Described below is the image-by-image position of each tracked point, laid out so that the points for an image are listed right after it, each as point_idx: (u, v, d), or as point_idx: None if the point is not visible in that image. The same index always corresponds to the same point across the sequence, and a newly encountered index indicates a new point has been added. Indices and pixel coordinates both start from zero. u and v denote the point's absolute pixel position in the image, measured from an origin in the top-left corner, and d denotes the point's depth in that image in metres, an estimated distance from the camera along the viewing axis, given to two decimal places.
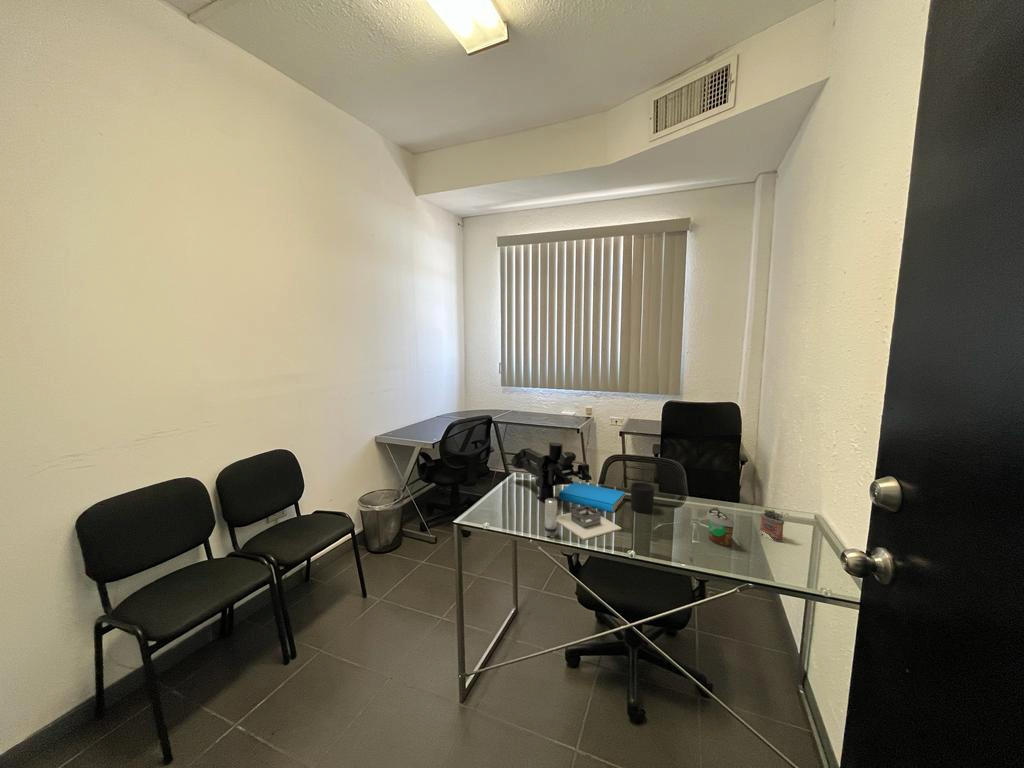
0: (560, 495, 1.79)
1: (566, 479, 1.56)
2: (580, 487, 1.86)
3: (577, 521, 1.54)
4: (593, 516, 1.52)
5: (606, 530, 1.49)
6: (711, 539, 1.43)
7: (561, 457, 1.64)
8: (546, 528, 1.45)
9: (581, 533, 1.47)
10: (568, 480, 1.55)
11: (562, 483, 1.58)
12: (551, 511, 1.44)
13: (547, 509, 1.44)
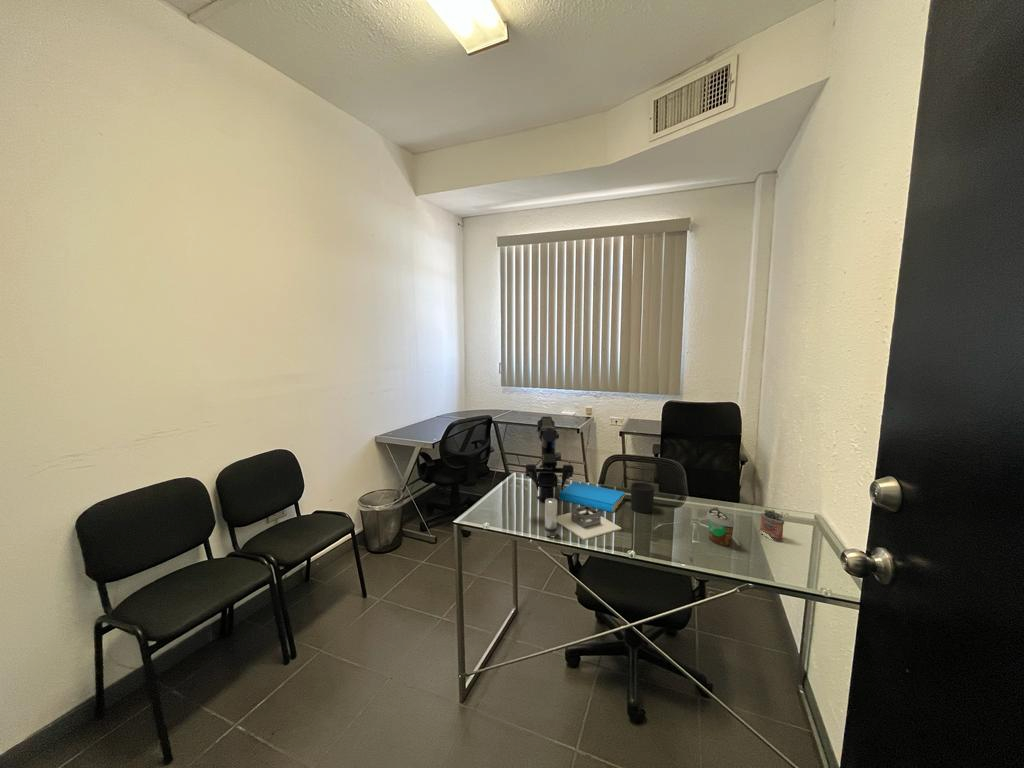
0: (560, 495, 1.79)
1: (535, 483, 1.55)
2: (580, 487, 1.85)
3: (577, 521, 1.54)
4: (593, 516, 1.52)
5: (606, 530, 1.49)
6: (711, 539, 1.43)
7: (543, 457, 1.55)
8: (546, 528, 1.45)
9: (581, 533, 1.47)
10: (536, 486, 1.54)
11: (533, 481, 1.58)
12: (551, 511, 1.44)
13: (547, 509, 1.44)
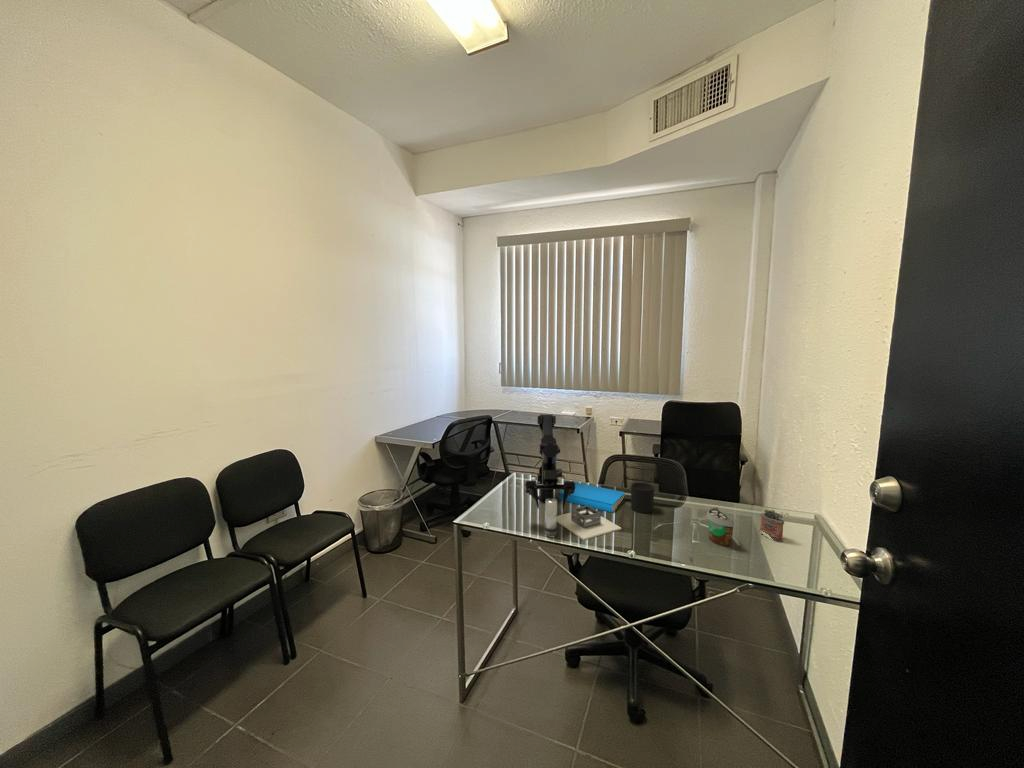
0: (560, 495, 1.79)
1: (535, 501, 1.49)
2: (580, 487, 1.85)
3: (577, 521, 1.54)
4: (593, 516, 1.52)
5: (606, 530, 1.49)
6: (711, 539, 1.43)
7: (544, 473, 1.50)
8: (546, 528, 1.45)
9: (581, 533, 1.47)
10: (536, 503, 1.49)
11: (533, 498, 1.52)
12: (551, 511, 1.44)
13: (547, 509, 1.44)
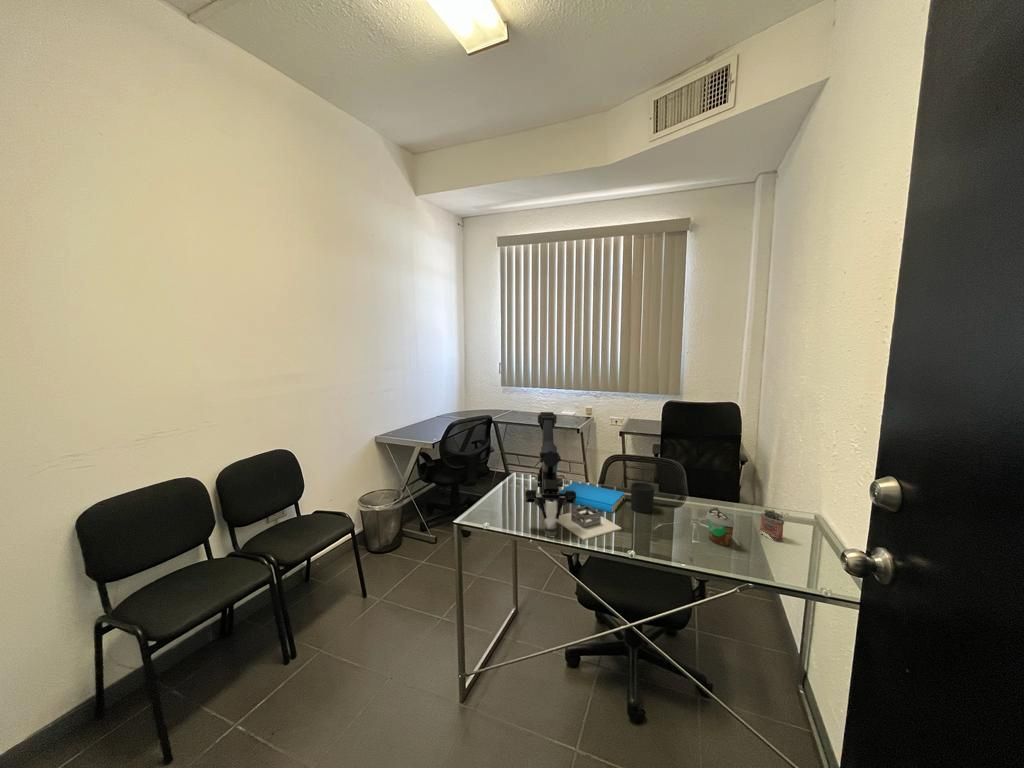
0: None
1: (541, 511, 1.46)
2: (579, 487, 1.85)
3: (577, 521, 1.54)
4: (593, 516, 1.52)
5: (606, 530, 1.49)
6: (711, 539, 1.43)
7: (544, 483, 1.47)
8: (546, 528, 1.45)
9: (581, 533, 1.47)
10: (542, 513, 1.46)
11: (540, 508, 1.49)
12: (551, 511, 1.44)
13: (547, 509, 1.44)
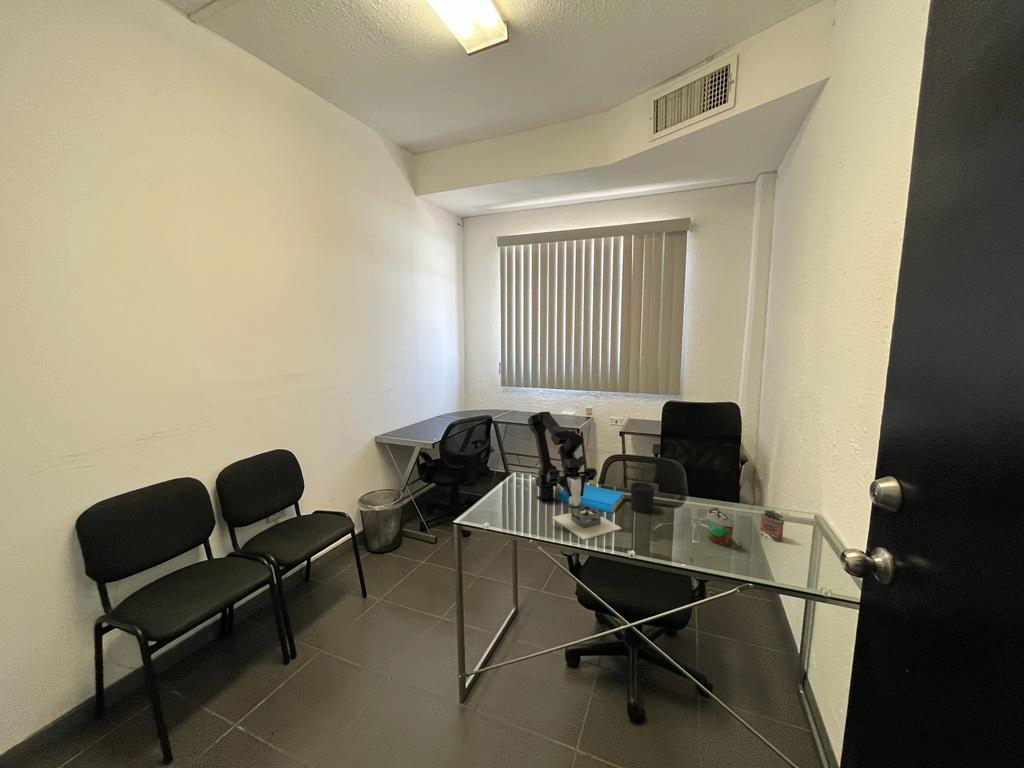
0: (559, 496, 1.79)
1: (566, 489, 1.50)
2: None
3: (577, 521, 1.54)
4: (593, 516, 1.52)
5: (606, 530, 1.49)
6: (711, 539, 1.43)
7: (568, 461, 1.50)
8: (571, 505, 1.49)
9: (581, 533, 1.47)
10: (567, 492, 1.49)
11: (562, 487, 1.52)
12: (576, 489, 1.48)
13: (572, 487, 1.48)
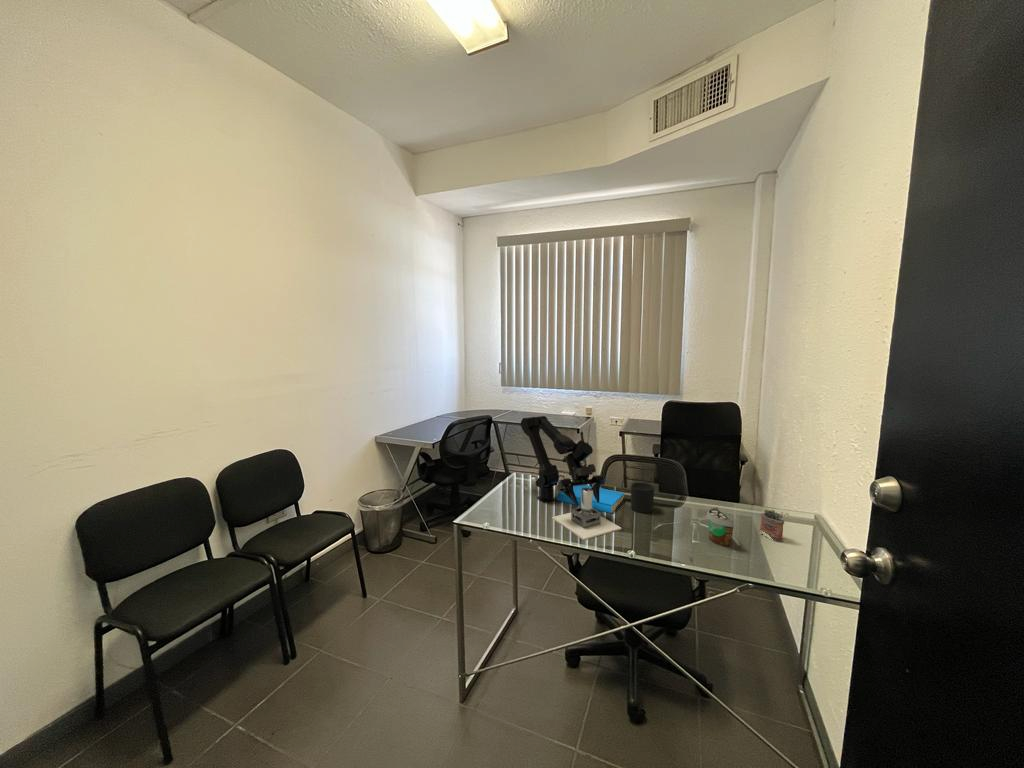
0: (559, 496, 1.78)
1: (573, 498, 1.53)
2: (579, 488, 1.85)
3: (577, 521, 1.54)
4: (593, 516, 1.52)
5: (606, 530, 1.49)
6: (711, 539, 1.43)
7: (579, 470, 1.54)
8: None
9: (581, 533, 1.47)
10: (574, 500, 1.53)
11: (568, 496, 1.56)
12: (589, 500, 1.53)
13: (585, 498, 1.53)
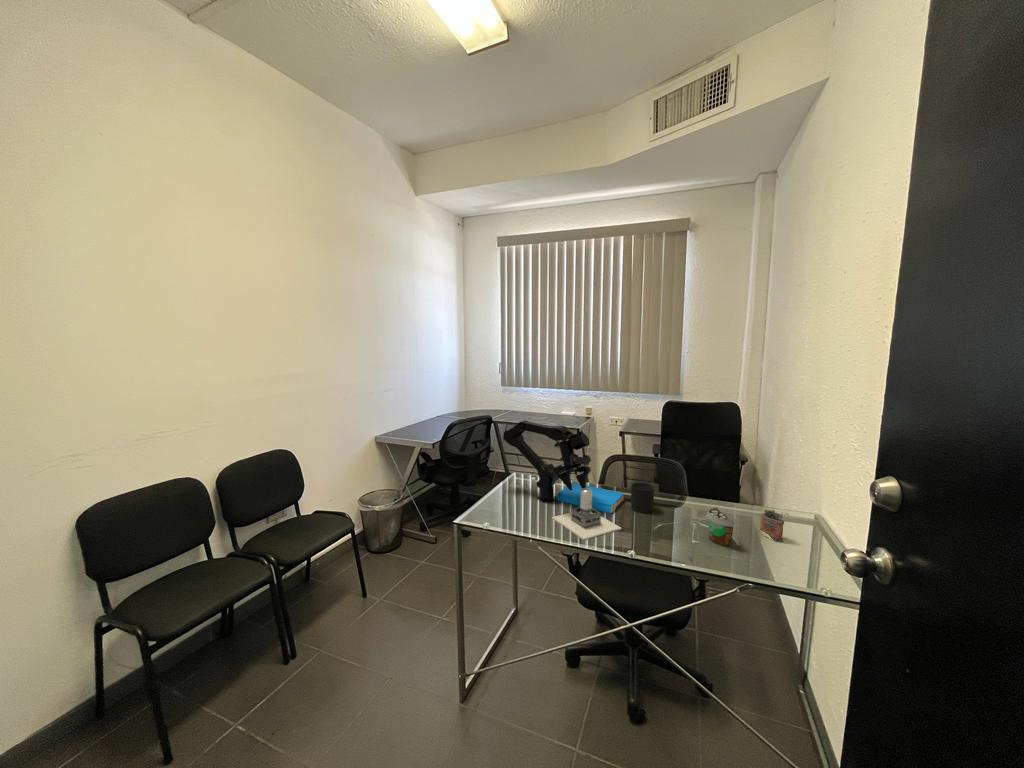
0: (558, 496, 1.78)
1: (568, 483, 1.62)
2: (578, 488, 1.84)
3: (577, 521, 1.54)
4: (593, 516, 1.52)
5: (606, 530, 1.49)
6: (711, 539, 1.43)
7: (579, 459, 1.64)
8: None
9: (581, 533, 1.47)
10: (569, 485, 1.62)
11: (562, 480, 1.63)
12: (588, 500, 1.53)
13: (584, 498, 1.53)
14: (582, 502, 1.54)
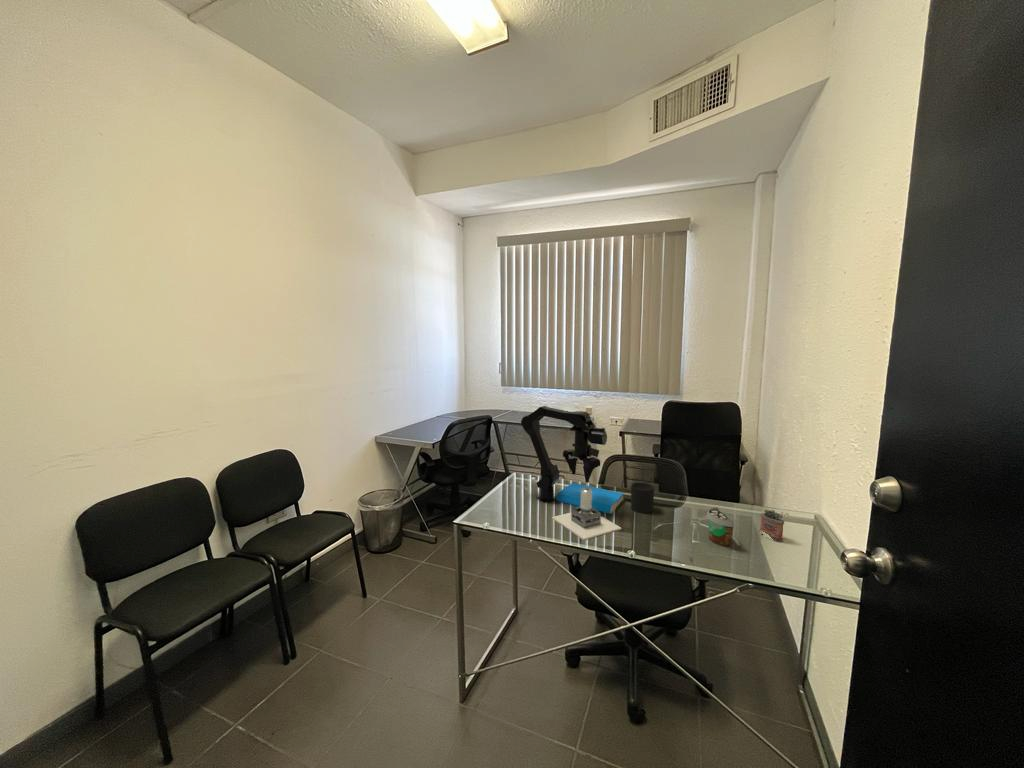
0: (558, 496, 1.78)
1: (589, 475, 1.66)
2: (578, 488, 1.84)
3: (577, 521, 1.54)
4: (593, 516, 1.52)
5: (606, 530, 1.49)
6: (711, 539, 1.43)
7: (597, 452, 1.71)
8: None
9: (581, 533, 1.47)
10: (589, 477, 1.66)
11: (586, 472, 1.64)
12: (588, 500, 1.53)
13: (584, 498, 1.53)
14: (582, 502, 1.54)
